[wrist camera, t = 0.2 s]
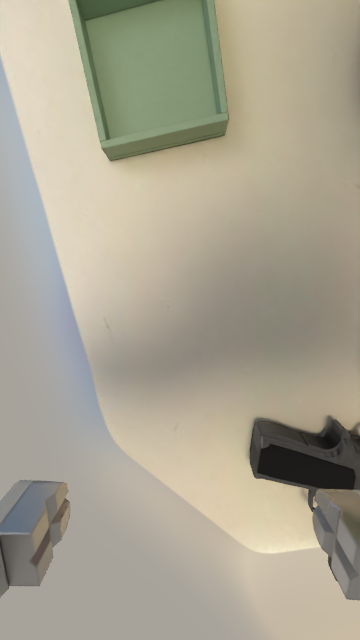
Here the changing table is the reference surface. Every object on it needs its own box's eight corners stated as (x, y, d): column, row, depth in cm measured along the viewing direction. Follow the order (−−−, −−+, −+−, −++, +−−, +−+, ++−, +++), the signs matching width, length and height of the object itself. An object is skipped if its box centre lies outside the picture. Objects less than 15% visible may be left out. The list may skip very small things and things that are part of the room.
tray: (79, 21, 17) (66, -10, 15) (205, -13, 17) (208, -50, 15) (110, 161, 19) (101, 148, 17) (224, 135, 19) (229, 119, 17)
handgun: (257, 593, 25) (374, 593, 24) (255, 438, 21) (396, 432, 20) (250, 560, 28) (355, 559, 27) (247, 417, 24) (371, 412, 23)
